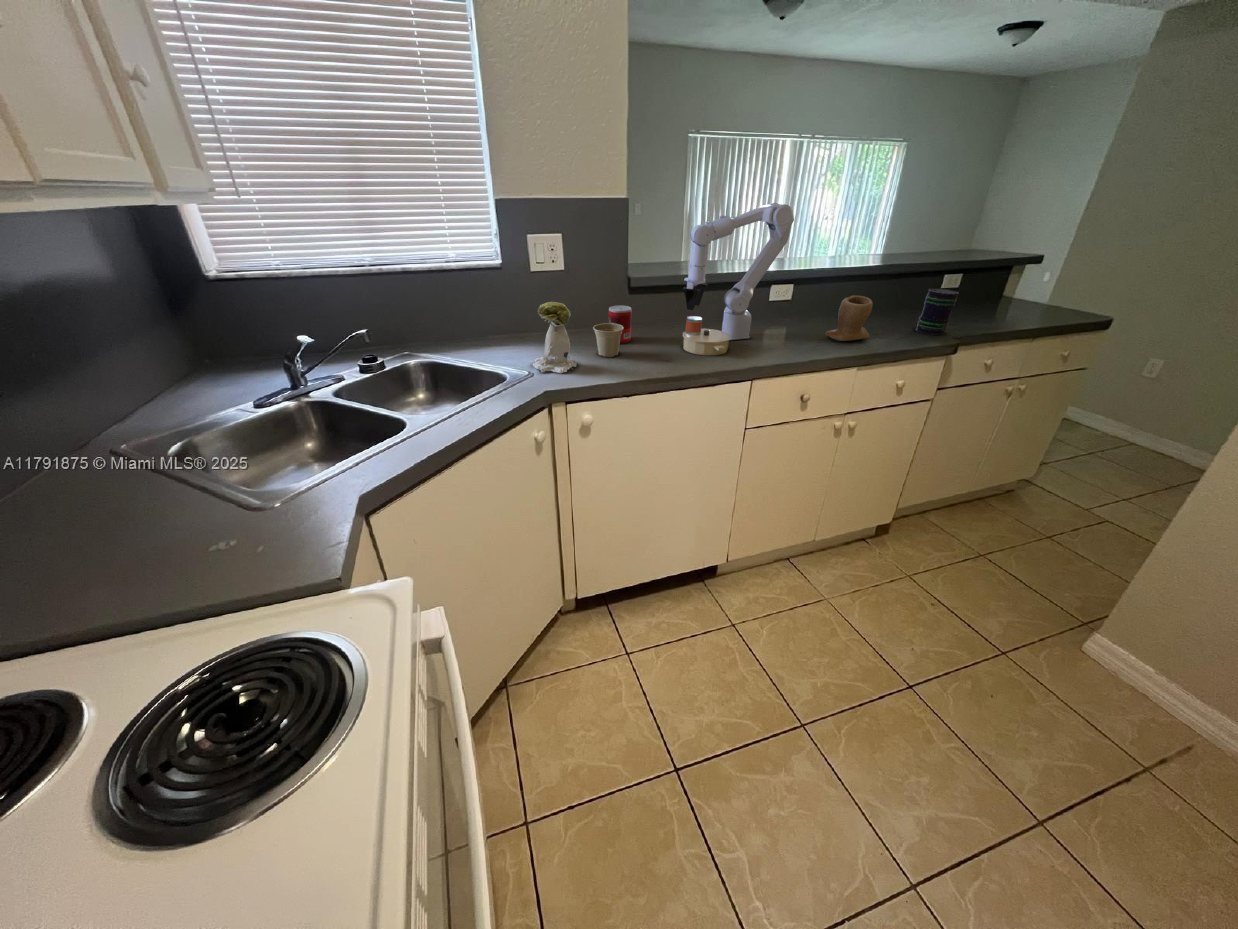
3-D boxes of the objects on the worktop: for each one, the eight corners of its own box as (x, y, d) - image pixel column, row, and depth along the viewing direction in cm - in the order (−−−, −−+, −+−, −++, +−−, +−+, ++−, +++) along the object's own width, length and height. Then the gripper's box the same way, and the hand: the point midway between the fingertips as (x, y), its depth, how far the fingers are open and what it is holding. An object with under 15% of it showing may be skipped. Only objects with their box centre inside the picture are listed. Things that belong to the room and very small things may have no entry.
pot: (708, 338, 172) (709, 326, 170) (740, 355, 156) (742, 343, 154) (671, 341, 168) (672, 330, 165) (700, 359, 152) (702, 347, 150)
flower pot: (601, 360, 149) (601, 332, 145) (588, 352, 156) (588, 325, 152) (628, 356, 153) (628, 329, 148) (614, 348, 160) (615, 321, 155)
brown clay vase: (841, 346, 167) (853, 301, 159) (820, 336, 177) (830, 293, 169) (877, 343, 171) (890, 299, 163) (854, 333, 181) (866, 292, 173)
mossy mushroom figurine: (536, 359, 149) (532, 297, 140) (578, 359, 149) (576, 298, 140) (530, 372, 139) (524, 306, 130) (575, 373, 139) (572, 307, 129)
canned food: (631, 337, 171) (632, 305, 165) (629, 344, 164) (630, 311, 158) (609, 336, 171) (610, 304, 166) (607, 343, 165) (607, 310, 159)
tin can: (696, 330, 164) (697, 315, 161) (703, 334, 160) (705, 319, 157) (682, 331, 162) (684, 316, 160) (690, 335, 158) (691, 320, 156)
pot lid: (714, 330, 169) (715, 322, 168) (739, 342, 156) (740, 334, 155) (674, 333, 164) (674, 326, 163) (696, 347, 151) (697, 339, 150)
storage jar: (947, 331, 186) (962, 291, 178) (941, 336, 180) (956, 294, 172) (918, 326, 192) (932, 287, 184) (912, 331, 185) (925, 290, 178)
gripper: (692, 261, 168) (688, 301, 175) (679, 266, 156) (675, 310, 163) (712, 263, 165) (707, 304, 172) (701, 269, 154) (696, 312, 161)
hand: (693, 307), depth 168 cm, fingers open, 7 cm apart
